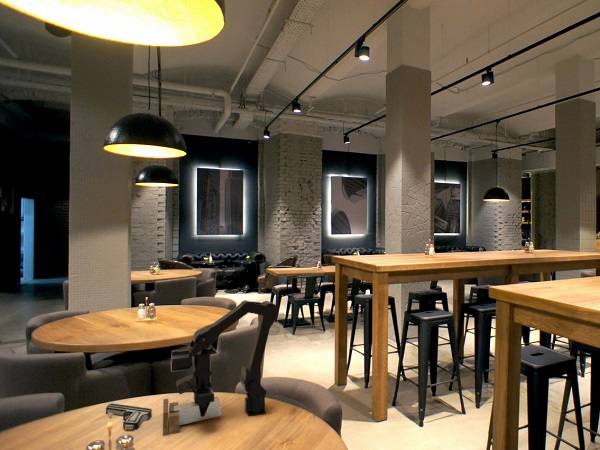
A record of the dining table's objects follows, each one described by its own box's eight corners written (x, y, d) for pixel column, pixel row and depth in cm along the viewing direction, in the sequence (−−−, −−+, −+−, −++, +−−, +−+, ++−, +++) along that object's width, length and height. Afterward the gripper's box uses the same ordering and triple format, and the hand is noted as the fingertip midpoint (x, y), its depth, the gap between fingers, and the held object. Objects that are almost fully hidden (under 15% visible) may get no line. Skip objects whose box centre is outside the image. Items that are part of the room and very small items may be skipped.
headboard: (178, 417, 130) (178, 397, 130) (179, 432, 119) (179, 410, 120) (163, 419, 128) (163, 399, 128) (162, 435, 118) (163, 413, 118)
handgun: (132, 424, 120) (156, 408, 131) (84, 417, 125) (111, 402, 136) (132, 434, 119) (156, 416, 131) (84, 426, 124) (111, 410, 136)
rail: (219, 410, 131) (218, 396, 131) (220, 415, 127) (219, 400, 127) (171, 421, 126) (170, 406, 126) (171, 427, 122) (170, 411, 122)
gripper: (176, 361, 134) (176, 405, 133) (178, 380, 116) (178, 431, 116) (208, 358, 138) (208, 401, 137) (214, 375, 120) (214, 424, 119)
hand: (201, 413), depth 127 cm, fingers closed on rail, 4 cm apart
